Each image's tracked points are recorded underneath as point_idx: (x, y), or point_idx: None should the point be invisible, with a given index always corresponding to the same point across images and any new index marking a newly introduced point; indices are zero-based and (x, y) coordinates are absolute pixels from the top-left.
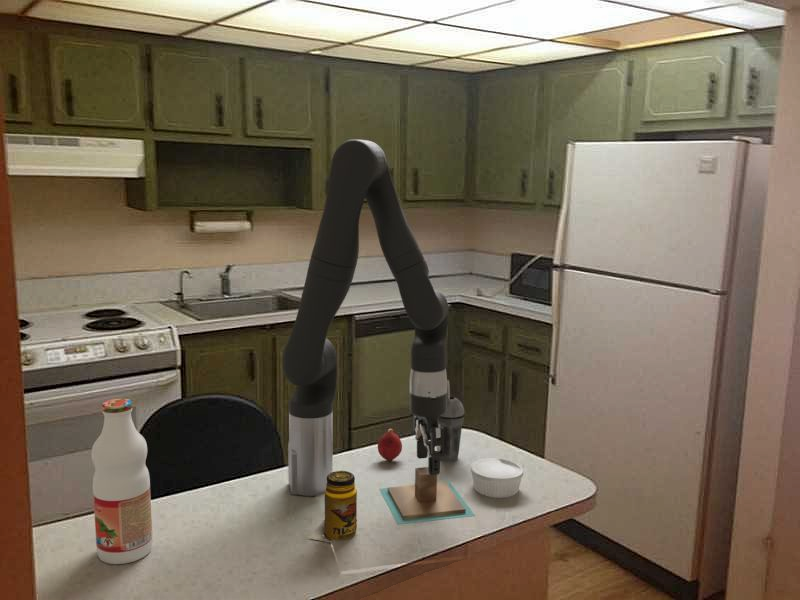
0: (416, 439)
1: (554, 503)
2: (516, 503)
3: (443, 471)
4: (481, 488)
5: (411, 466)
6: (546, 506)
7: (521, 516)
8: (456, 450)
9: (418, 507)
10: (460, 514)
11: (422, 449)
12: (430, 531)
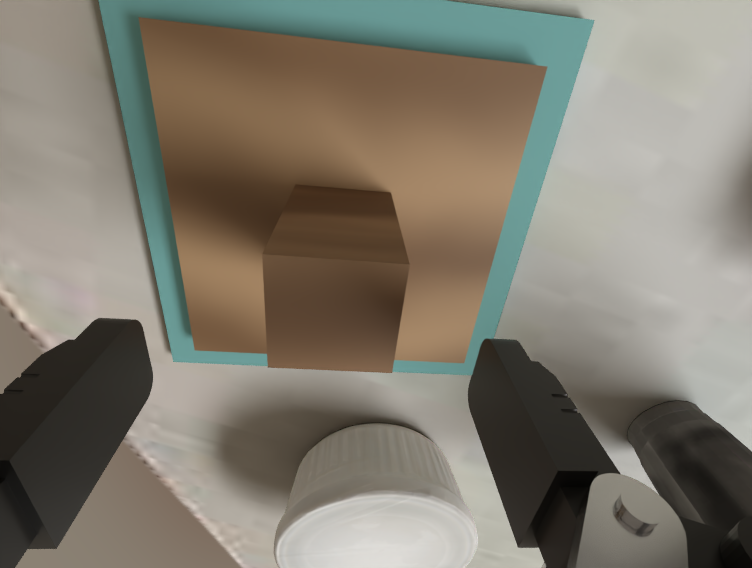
0: (609, 490)
1: (247, 545)
2: (266, 482)
3: (589, 384)
4: (337, 449)
5: (717, 293)
6: (232, 528)
7: (176, 468)
8: (654, 483)
9: (240, 157)
10: (187, 318)
11: (502, 427)
12: (48, 139)
